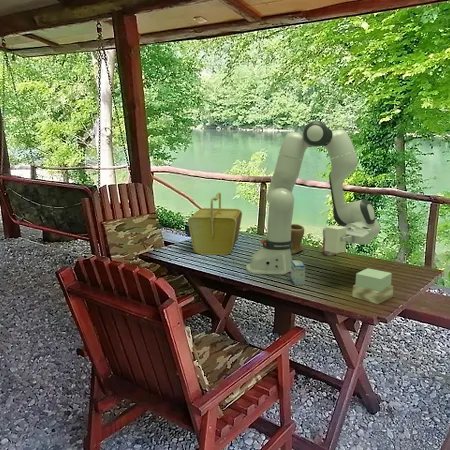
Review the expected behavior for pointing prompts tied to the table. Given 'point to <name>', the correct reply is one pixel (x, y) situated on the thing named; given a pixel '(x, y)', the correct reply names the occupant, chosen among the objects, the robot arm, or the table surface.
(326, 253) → the soda can
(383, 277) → the sage block
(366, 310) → the table surface
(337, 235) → the cream block
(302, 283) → the medicine box
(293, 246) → the stone cup
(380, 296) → the birch block
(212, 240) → the picnic basket
